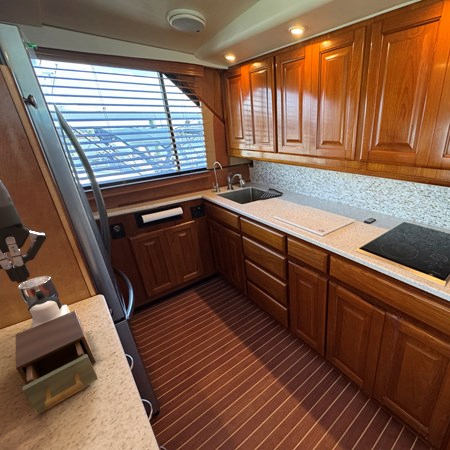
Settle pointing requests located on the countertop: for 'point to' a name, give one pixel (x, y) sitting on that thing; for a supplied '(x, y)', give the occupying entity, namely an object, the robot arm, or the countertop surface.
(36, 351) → the cabinet
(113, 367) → the countertop surface
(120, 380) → the countertop surface
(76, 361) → the drawer
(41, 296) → the silver metal tumbler
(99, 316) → the countertop surface
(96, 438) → the countertop surface
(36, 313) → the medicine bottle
